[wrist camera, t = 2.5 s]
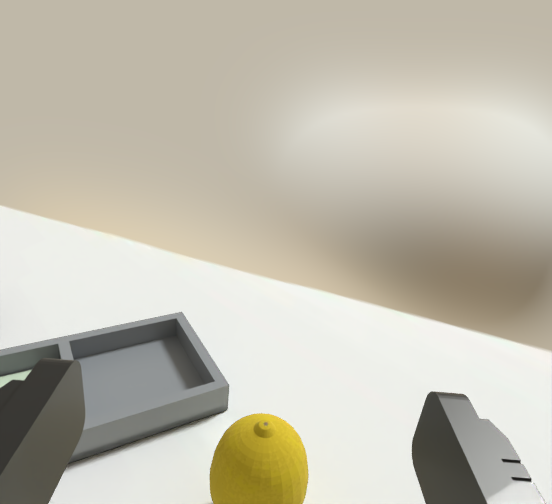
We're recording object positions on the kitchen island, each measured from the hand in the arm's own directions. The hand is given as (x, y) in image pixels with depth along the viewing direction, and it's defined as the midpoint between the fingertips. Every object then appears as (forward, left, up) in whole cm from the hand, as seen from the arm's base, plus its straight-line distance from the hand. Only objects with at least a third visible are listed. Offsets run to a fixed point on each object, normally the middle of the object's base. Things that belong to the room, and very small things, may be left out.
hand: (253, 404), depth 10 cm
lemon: (-6, -8, -19) cm, 21 cm away
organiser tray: (+2, -22, -19) cm, 29 cm away
